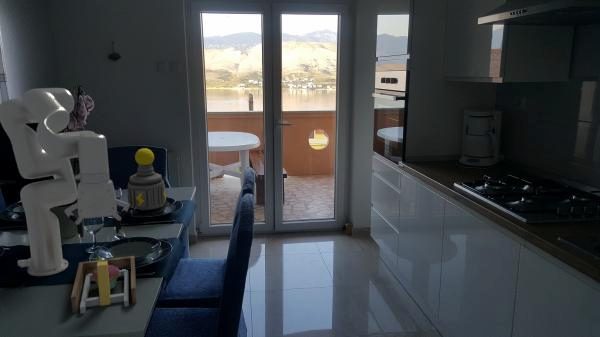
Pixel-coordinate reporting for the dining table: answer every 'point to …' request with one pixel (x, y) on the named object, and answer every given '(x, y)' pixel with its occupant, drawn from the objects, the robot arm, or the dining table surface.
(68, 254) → the dining table surface
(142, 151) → the decorative lamp
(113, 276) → the cupcake
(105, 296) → the frame
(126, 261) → the bay
